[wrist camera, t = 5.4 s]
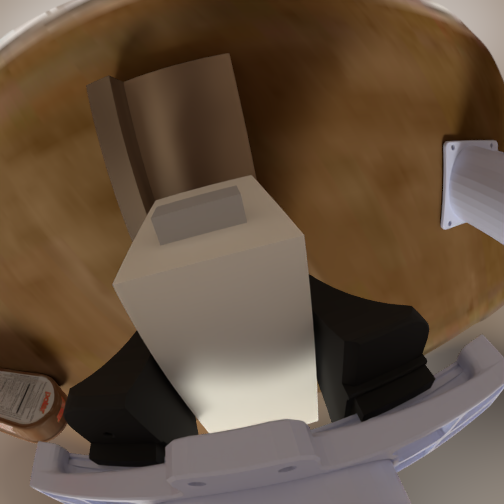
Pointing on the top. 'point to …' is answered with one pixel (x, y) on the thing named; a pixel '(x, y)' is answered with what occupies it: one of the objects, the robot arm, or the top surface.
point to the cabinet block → (225, 304)
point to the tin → (31, 406)
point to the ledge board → (170, 133)
